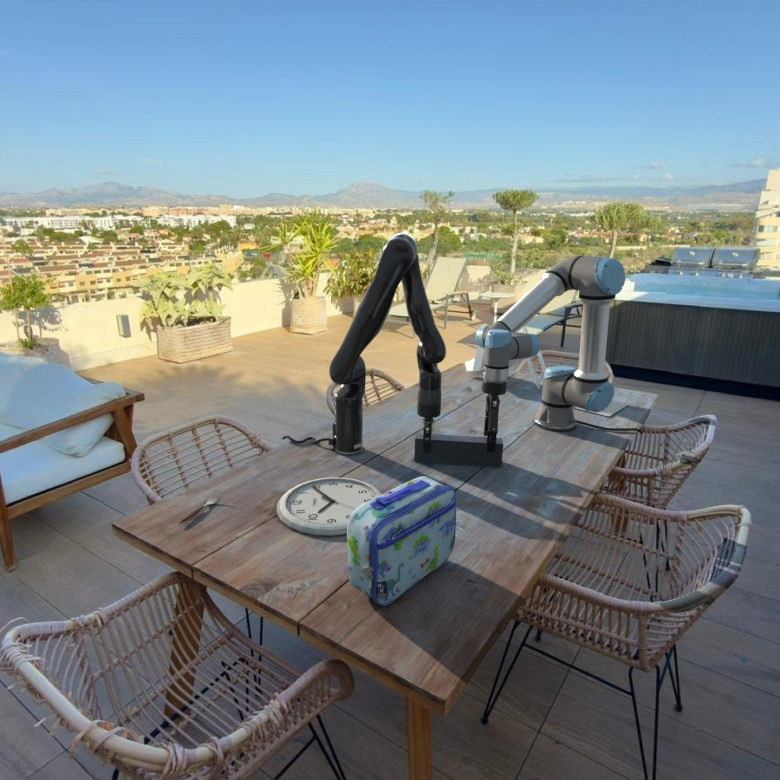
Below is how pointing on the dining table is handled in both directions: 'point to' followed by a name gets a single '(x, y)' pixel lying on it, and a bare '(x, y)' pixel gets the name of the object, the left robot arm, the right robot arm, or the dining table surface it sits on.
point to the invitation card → (609, 408)
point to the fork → (209, 502)
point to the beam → (458, 450)
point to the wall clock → (324, 504)
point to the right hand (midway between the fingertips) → (489, 443)
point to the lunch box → (400, 538)
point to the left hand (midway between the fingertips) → (427, 449)
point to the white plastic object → (478, 363)
